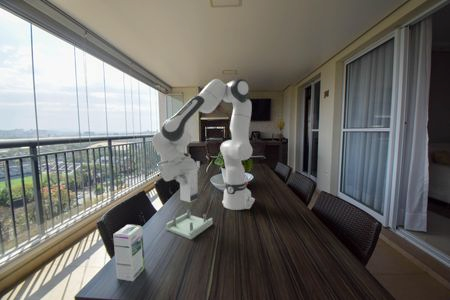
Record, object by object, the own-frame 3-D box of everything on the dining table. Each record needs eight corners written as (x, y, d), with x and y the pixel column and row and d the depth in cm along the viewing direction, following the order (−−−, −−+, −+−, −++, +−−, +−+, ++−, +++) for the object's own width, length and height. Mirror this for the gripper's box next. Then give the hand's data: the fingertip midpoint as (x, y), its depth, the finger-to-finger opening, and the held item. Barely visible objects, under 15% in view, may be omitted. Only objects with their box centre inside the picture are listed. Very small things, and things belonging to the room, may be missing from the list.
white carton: (188, 196, 88) (187, 167, 87) (198, 198, 85) (197, 169, 84) (180, 199, 84) (179, 169, 83) (190, 202, 81) (189, 171, 80)
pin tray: (189, 216, 96) (188, 207, 96) (212, 224, 88) (212, 213, 88) (166, 229, 84) (165, 218, 83) (191, 239, 76) (190, 227, 75)
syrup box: (133, 282, 54) (130, 235, 53) (115, 279, 55) (112, 233, 54) (145, 268, 60) (143, 225, 58) (129, 265, 61) (126, 223, 60)
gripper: (158, 158, 78) (175, 184, 74) (191, 153, 95) (207, 174, 91) (152, 167, 81) (168, 193, 76) (185, 161, 98) (200, 182, 94)
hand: (189, 182), depth 84 cm, fingers closed on white carton, 5 cm apart
